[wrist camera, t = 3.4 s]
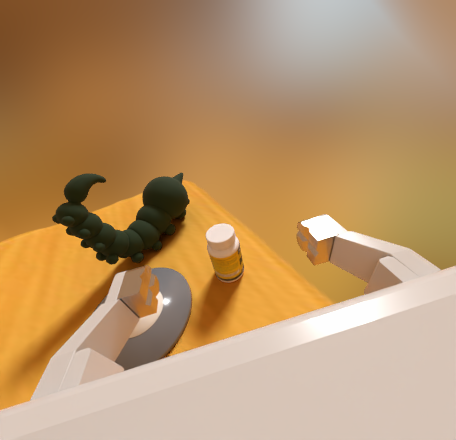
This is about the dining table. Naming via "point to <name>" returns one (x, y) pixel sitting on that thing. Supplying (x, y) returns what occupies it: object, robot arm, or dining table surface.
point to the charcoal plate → (159, 322)
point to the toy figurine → (137, 232)
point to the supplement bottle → (225, 252)
